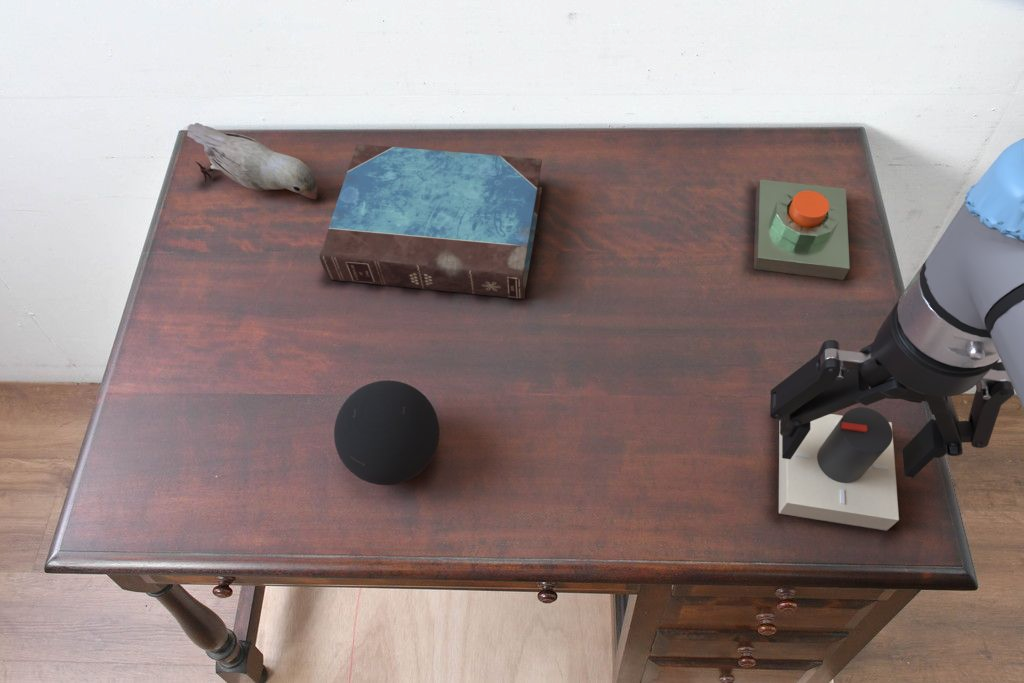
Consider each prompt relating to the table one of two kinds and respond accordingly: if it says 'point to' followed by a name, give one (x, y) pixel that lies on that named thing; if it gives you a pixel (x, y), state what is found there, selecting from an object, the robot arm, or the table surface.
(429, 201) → the book
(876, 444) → the knob
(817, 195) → the button
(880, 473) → the knob panel
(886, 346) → the robot arm
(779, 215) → the button box
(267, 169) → the decorative bird
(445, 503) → the table surface
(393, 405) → the speaker
